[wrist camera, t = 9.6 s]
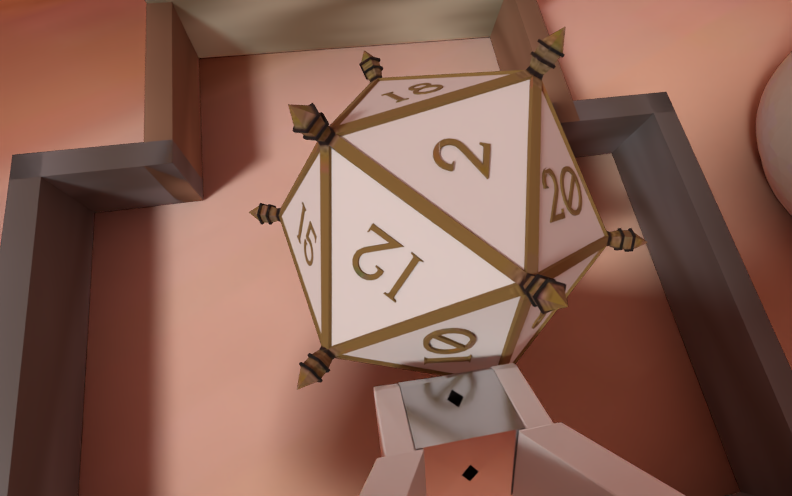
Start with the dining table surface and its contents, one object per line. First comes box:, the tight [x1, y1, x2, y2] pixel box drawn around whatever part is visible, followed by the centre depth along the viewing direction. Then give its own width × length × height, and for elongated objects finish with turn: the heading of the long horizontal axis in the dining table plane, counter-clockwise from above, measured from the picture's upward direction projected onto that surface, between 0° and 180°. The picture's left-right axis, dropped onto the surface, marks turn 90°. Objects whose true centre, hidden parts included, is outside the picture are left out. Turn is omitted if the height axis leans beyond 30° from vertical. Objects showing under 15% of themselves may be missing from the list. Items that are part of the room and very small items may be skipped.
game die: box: [249, 27, 648, 389], centre depth 11 cm, size 9×8×10 cm
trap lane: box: [0, 0, 792, 496], centre depth 11 cm, size 21×32×4 cm, turn 10°
